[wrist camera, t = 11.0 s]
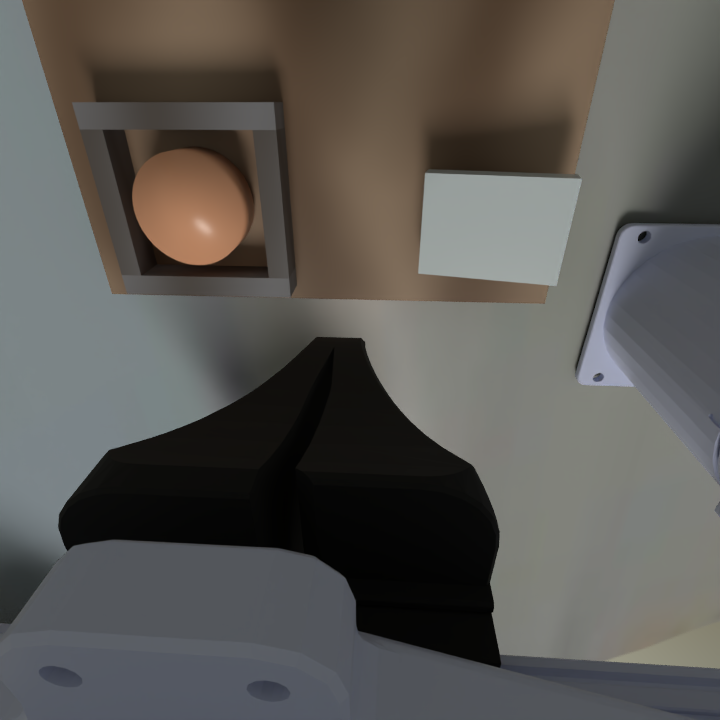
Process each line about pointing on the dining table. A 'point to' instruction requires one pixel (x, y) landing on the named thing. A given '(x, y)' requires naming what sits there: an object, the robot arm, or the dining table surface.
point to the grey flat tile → (496, 224)
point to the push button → (193, 204)
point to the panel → (316, 126)
